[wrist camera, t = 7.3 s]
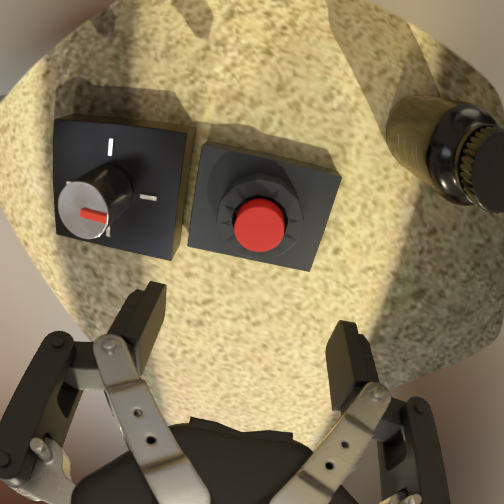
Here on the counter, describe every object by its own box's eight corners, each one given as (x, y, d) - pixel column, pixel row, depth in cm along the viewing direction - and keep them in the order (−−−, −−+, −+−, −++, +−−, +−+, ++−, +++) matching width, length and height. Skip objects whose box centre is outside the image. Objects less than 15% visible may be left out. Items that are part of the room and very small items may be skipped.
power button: (232, 235, 25) (230, 246, 24) (241, 193, 23) (239, 201, 22) (277, 245, 25) (277, 256, 24) (288, 203, 23) (290, 212, 22)
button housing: (191, 237, 29) (182, 257, 26) (206, 141, 24) (197, 149, 21) (307, 262, 30) (311, 283, 27) (337, 171, 25) (347, 183, 22)
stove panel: (71, 221, 29) (55, 235, 26) (72, 114, 23) (52, 119, 20) (179, 244, 29) (171, 262, 27) (196, 127, 24) (186, 133, 21)
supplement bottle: (428, 80, 20) (522, 91, 10) (461, 146, 23) (549, 194, 12) (367, 119, 23) (438, 150, 12) (406, 184, 25) (477, 252, 15)
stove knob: (85, 207, 24) (56, 232, 20) (88, 159, 22) (55, 177, 18) (129, 220, 25) (104, 248, 21) (136, 170, 23) (108, 190, 19)
